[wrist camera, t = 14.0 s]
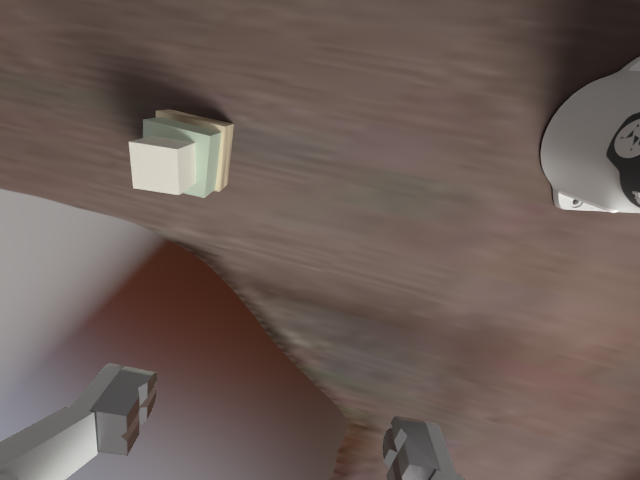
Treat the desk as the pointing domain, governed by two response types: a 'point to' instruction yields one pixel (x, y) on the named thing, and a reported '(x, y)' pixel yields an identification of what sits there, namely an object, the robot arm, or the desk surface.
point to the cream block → (163, 164)
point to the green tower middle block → (204, 149)
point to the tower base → (213, 125)
